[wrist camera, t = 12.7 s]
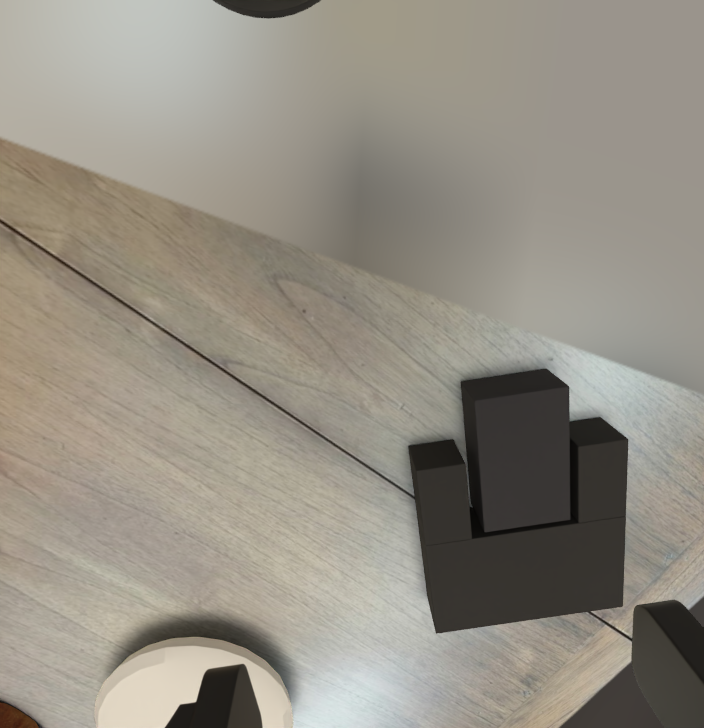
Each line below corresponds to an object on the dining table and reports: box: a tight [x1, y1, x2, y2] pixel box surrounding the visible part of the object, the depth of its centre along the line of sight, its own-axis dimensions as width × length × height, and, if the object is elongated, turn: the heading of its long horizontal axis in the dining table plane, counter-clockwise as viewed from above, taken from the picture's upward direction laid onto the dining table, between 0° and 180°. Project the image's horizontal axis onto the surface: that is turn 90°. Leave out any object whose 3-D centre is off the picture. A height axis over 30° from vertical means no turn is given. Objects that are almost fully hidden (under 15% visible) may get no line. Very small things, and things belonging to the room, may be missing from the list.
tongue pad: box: [461, 369, 570, 532], centre depth 33 cm, size 10×6×4 cm, turn 9°
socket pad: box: [409, 417, 628, 633], centre depth 35 cm, size 14×14×4 cm
